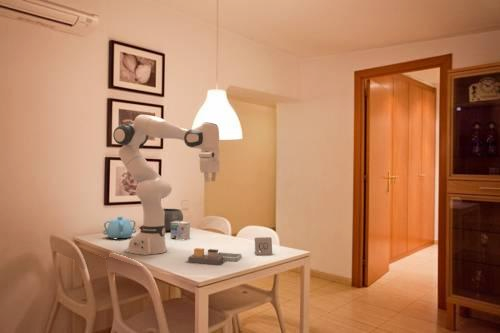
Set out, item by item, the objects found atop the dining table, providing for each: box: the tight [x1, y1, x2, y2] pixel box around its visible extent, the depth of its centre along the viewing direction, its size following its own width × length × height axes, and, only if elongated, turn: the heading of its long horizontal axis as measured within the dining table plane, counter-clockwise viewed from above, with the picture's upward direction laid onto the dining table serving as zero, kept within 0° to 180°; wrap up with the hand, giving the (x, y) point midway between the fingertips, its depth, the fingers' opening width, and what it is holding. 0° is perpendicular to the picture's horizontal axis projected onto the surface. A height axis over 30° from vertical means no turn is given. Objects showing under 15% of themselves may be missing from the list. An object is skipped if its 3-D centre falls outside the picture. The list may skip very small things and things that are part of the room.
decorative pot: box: [102, 216, 137, 239], centre depth 237 cm, size 16×16×14 cm
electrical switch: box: [254, 236, 273, 256], centre depth 200 cm, size 9×5×9 cm, turn 99°
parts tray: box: [218, 251, 243, 263], centre depth 185 cm, size 12×9×3 cm
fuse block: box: [184, 253, 227, 267], centre depth 177 cm, size 18×8×4 cm, turn 77°
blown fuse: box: [207, 248, 219, 258], centre depth 177 cm, size 4×2×6 cm, turn 77°
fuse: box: [193, 247, 205, 257], centre depth 178 cm, size 4×2×6 cm, turn 77°
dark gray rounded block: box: [163, 208, 184, 232], centre depth 266 cm, size 20×20×15 cm
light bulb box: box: [169, 220, 191, 241], centre depth 238 cm, size 11×7×11 cm, turn 69°
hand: (210, 181), depth 188 cm, fingers open, 8 cm apart
